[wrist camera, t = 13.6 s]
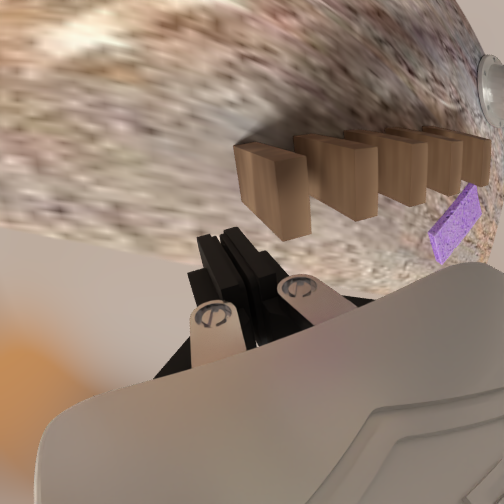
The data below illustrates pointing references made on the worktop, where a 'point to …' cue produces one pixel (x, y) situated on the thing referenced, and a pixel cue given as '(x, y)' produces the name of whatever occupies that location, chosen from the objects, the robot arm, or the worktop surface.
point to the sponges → (455, 223)
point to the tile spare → (469, 154)
